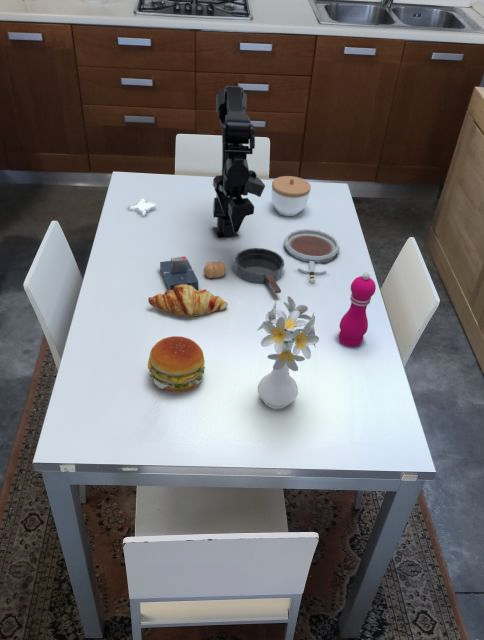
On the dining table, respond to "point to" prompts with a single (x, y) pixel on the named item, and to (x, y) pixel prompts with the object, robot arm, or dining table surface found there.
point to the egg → (214, 269)
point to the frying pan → (311, 248)
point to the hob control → (178, 276)
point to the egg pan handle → (272, 283)
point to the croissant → (187, 301)
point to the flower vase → (285, 352)
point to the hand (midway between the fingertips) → (231, 223)
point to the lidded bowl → (290, 194)
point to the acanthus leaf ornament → (143, 207)
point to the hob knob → (179, 264)
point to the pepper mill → (357, 311)
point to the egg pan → (258, 265)
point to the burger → (176, 363)
